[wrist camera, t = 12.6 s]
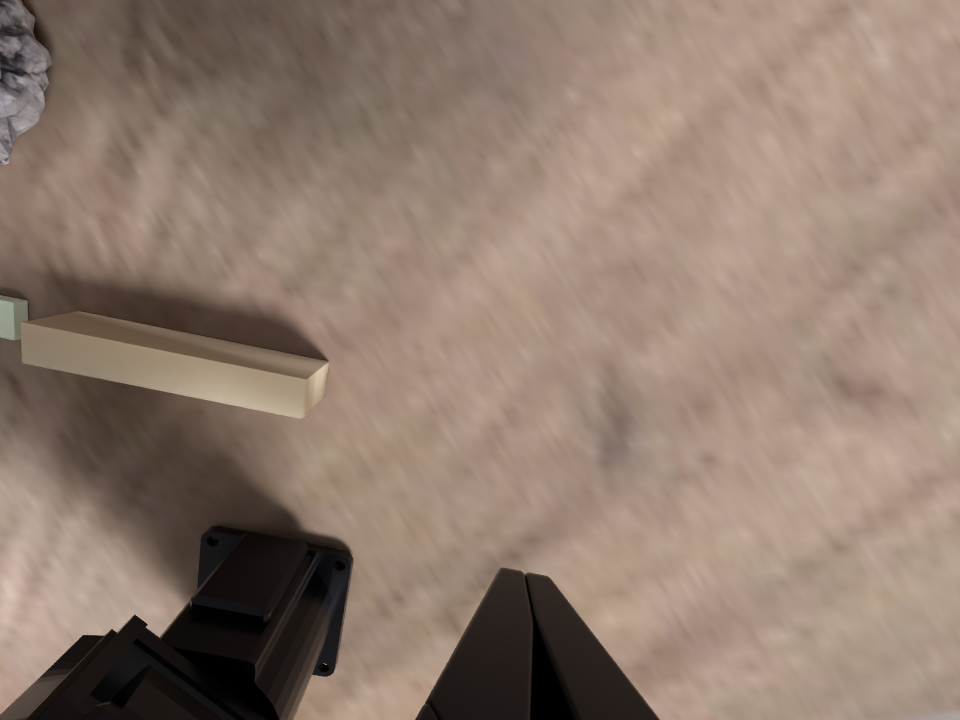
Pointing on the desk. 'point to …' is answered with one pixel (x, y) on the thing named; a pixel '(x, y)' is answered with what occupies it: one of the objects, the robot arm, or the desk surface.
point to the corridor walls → (175, 362)
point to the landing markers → (12, 317)
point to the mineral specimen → (19, 75)
